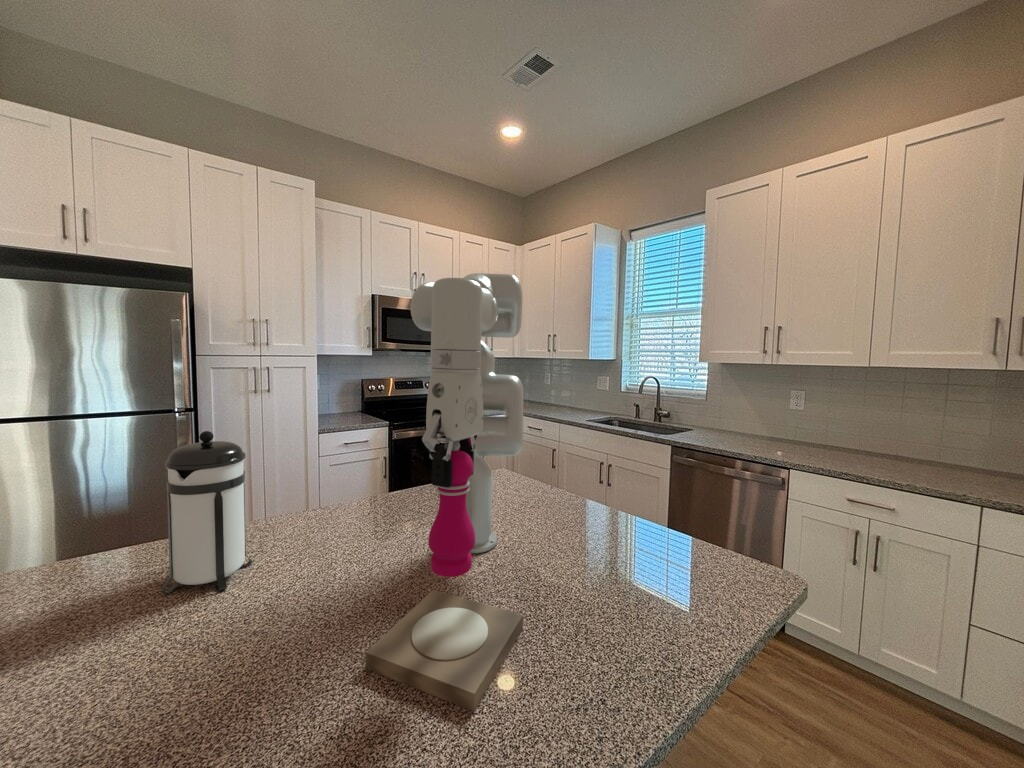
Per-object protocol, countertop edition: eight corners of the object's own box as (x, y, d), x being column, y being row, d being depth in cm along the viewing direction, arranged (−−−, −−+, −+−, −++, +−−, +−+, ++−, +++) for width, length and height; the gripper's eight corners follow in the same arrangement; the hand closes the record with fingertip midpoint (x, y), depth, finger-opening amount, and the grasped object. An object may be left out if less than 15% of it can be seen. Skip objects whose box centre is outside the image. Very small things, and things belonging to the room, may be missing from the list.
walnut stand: (365, 668, 61) (365, 650, 61) (433, 602, 78) (433, 588, 78) (474, 711, 55) (474, 691, 54) (522, 629, 71) (523, 613, 71)
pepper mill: (442, 552, 69) (444, 434, 68) (481, 560, 67) (485, 438, 66) (418, 573, 62) (421, 442, 61) (462, 583, 60) (465, 447, 59)
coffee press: (269, 576, 85) (267, 431, 83) (168, 610, 73) (163, 442, 71) (244, 547, 97) (242, 420, 94) (154, 572, 85) (149, 428, 83)
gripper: (447, 363, 53) (444, 501, 54) (501, 363, 69) (498, 469, 70) (399, 361, 56) (397, 492, 57) (461, 362, 72) (459, 464, 73)
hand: (453, 478), depth 64 cm, fingers closed on pepper mill, 5 cm apart
